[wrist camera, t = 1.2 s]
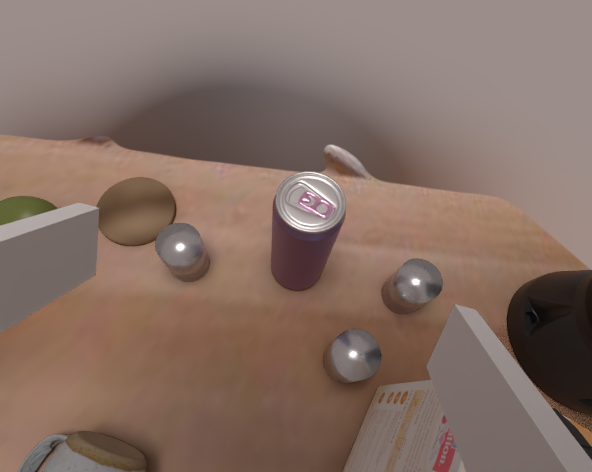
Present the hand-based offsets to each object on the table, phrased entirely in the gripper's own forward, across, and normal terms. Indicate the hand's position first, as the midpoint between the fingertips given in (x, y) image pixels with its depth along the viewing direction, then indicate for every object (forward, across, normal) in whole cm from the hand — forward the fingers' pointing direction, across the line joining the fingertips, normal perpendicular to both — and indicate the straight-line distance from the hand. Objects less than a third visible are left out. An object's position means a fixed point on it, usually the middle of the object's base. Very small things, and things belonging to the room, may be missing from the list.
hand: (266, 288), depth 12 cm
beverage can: (+26, +1, -10) cm, 28 cm away
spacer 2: (+26, +13, -10) cm, 31 cm away
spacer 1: (+24, -11, -12) cm, 29 cm away
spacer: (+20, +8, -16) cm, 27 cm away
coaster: (+27, -20, -9) cm, 35 cm away
